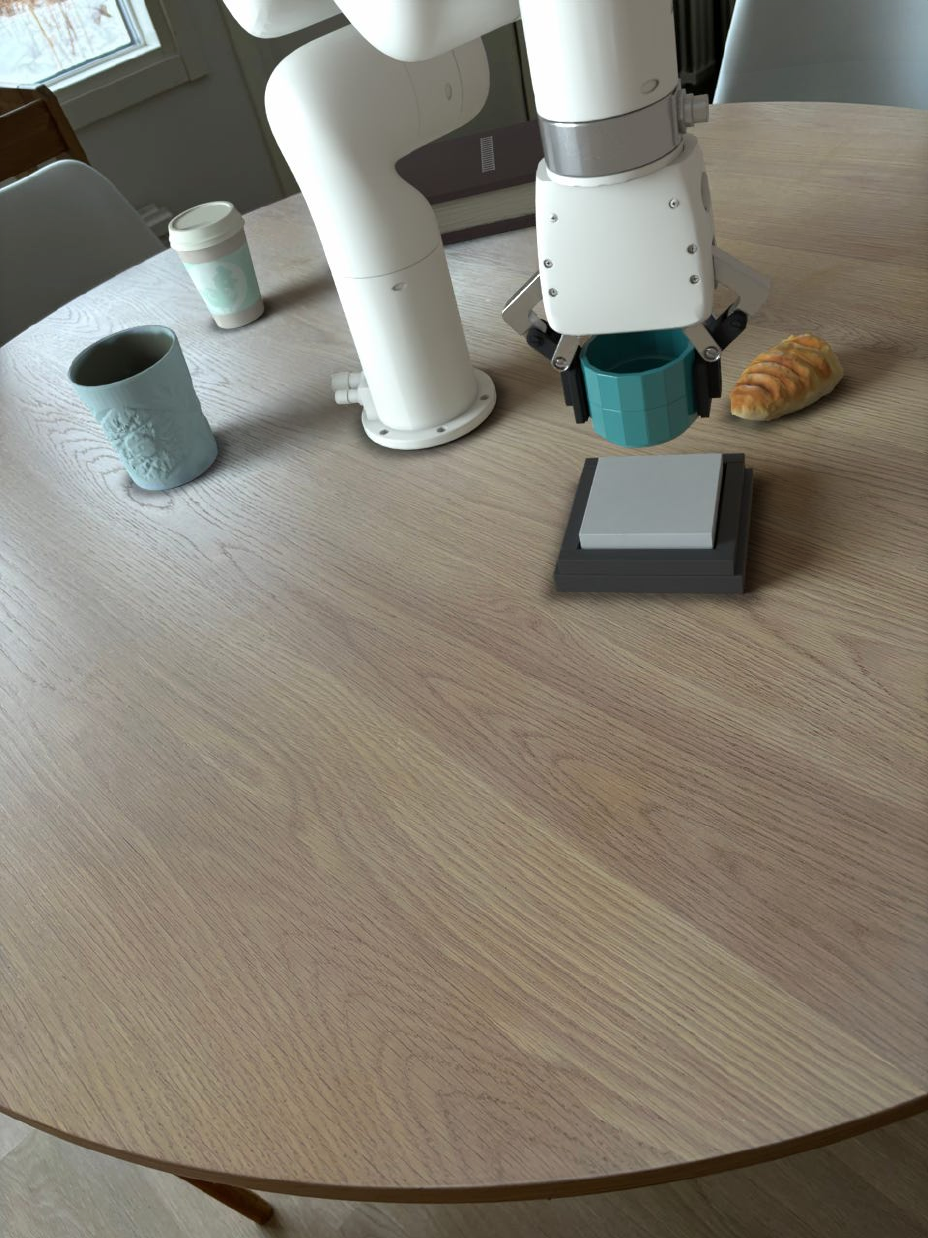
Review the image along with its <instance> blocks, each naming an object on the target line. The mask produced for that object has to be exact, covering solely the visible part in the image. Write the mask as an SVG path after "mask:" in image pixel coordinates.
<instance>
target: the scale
mask: <svg viewBox="0 0 928 1238" xmlns="http://www.w3.org/2000/svg"><path fill="white" fill-rule="evenodd" d="M722 455H723V476H722V484H721V492H720V501H719V509H718V517H717V525H716V533H715V541H714V549H582V547H581V542H580V536H579V533H580V529H581V526H582V522H583V518H584V514H585V510H586V507H587V503H588V499H589V495H590V491H591V487H592V484H593V480H594V476H595V472H596V468H597V465H598V461H599V457H585V460H584V464H583V466H582V470H581V473H580V476H579V480H578V483H577V487H576V491H575V495H574V498H573V501H572V506H571V509H570V512H569V516H568V518H567V523H566V527H565V529H564V534H563V537H562V541H561V545H560V548H559V552H558V555H557V559H556V563H555V566H554V569H553V574H552V578H553V584H554V588H555V591H556V592H566V593H567V592H573V593H574V592H576V593H577V592H579V593H645V594H646V593H657V594H660V593H661V594H664V593H665V594H726V595H727V594H729V595H731V594H732V595H733V594H735V595H739V594H740V595H743V594H744V593H745V585H746V574H747V573H746V572H747V564H748V563H747V562H748V551H749V542H750V541H749V540H750V531H751V530H750V528H751V518H752V506H753V495H754V468H753V467H746V454H745V453H744V452H740V453H739V452H738V453H737V452H734V453H733V452H732V453H722Z"/></svg>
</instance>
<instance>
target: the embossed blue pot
mask: <svg viewBox="0 0 928 1238" xmlns="http://www.w3.org/2000/svg"><path fill="white" fill-rule="evenodd" d="M66 376H67V379H68V382H69V383H70V385H71V387H72V388H73V389H74V391H75V392H76V394H77V395H78V396H79V398H80V399H81V401H82V403H83V404H84V405H85V406H86V407H87V408H88V411H89V412H90V414H91V417H92V418H93V419H94V420H95V421H96V422H97V423H98V424H99V425H100V426H101V430H102V432H103V434H104V436H105V439H106V440H108V441H109V444H110V446H111V448H112V449H113V450H114V452H115V453H116V454H117V456H118V459H119V461H120V462H121V464H122V465H123V468H124V469H125V470H126V472H127V473H128V475H129V476H130V478H131V479H132V481H133V482H134V483H135V484H136V485H137V486H138V487H140V488H141V489H143V490H146V491H147V490H148V491H165V490H170V489H174V488H177V487H180V486H183V485H186V484H187V483H188V484H189V483H190V482H192V481H193V480H195V479H197V478H198V477H200V476H201V475H203V474H204V473H206V471H207V470H209V468H210V467H211V466H212V465H213V464H214V463H215V461H216V459H217V457H218V453H219V451H218V445H217V442H216V439H215V436H214V434H213V431H212V429H211V426H210V423H209V421H208V418H207V417H206V416H205V414H204V412H203V409H202V404H201V400H200V399H199V396H197V392H196V390H195V387H194V384H193V377H192V375H191V373H190V369H189V366H188V363H187V361H186V358H185V356H184V353H183V350H182V347H181V344H180V341H179V339H178V336H177V334H176V333H175V330H173V329H172V328H170V327H168V326H165V325H160V324H145V325H138V326H131V327H128V328H126V329H122V330H118V331H116V332H113V333H111V334H109V335H106V336H104V337H102V338H100V339H98V340H96V341H95V342H93V343H91V344H89V345H88V346H87V347H85V348H84V349H83V350H81V351H80V352H79V353H78V354H77V355H76V356H75V357H74V358H73V360H72V361H71V364H70V365H69V368H68V369H67V374H66Z"/></svg>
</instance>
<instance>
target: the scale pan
mask: <svg viewBox="0 0 928 1238" xmlns="http://www.w3.org/2000/svg"><path fill="white" fill-rule="evenodd" d="M722 454H723V452H722V453H721V452H715V453H714V452H712V453H709V452H708V453H679V454H678V453H677V454H652V455H651V454H648V455H619V456H618V455H617V456H616V455H615V456H599V457H598V458H599V461H598V465H597V468H596V472H595V476H594V480H593V484H592V487H591V491H590V495H589V499H588V503H587V507H586V510H585V514H584V518H583V522H582V526H581V529H580V533H579V536H580V542H581V547H582V549H714V541H715V533H716V525H717V517H718V509H719V501H720V492H721V484H722V476H723V455H722Z"/></svg>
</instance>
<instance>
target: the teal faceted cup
mask: <svg viewBox="0 0 928 1238" xmlns="http://www.w3.org/2000/svg"><path fill="white" fill-rule="evenodd" d="M581 347H582V348H581V351H580V355H579V359H580V365H581V371H582V377H583V383H584V389H585V395H586V401H587V407H588V413H589V418H588V420H589V422H590V425H591V428H592V430H593V432H594V433H595V434H596V435H598V436H599V437H601V438H603V439H605V440H606V441H607V442H609V443H610V444H613V445H615V446H619V447H623V448H631V449H642V448H650V447H655V446H659V445H663V444H666V443H668V442H671V441H673V440H675V439H677V438H678V437H680V436H681V435H683V434H684V433H685V432H687V430H688V429H690V428H691V426H693V424H694V423H695V422H696V420H697V419H698V418H699V417H700V416H698V415H697V403H696V391H695V379H694V360H695V357H696V352H697V350H696V348H695V347H694V346H693V344H692V343H691V342H690V340H689V339H688V338H687V336H686V335H685V334H684V332H683V331H682V330H681V328H676V329H666V330H654V331H641V332H629V333H616V334H602V335H590V337H589V338H587V340H585V341H584V342H583V344H582V345H581Z"/></svg>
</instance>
